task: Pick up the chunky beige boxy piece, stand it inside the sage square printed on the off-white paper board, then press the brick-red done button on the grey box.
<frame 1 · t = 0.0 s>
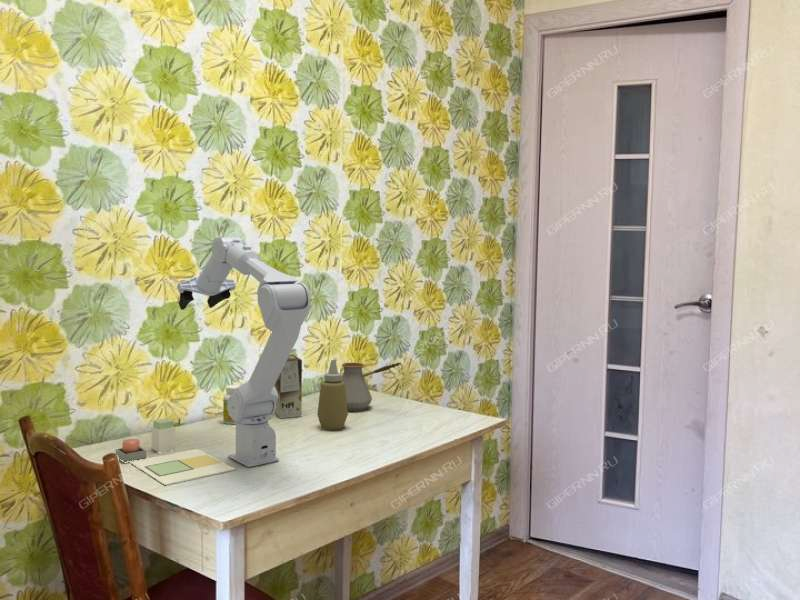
hand: (195, 305, 191), 32 cm above the table, tool tilted 50°, fingers open, 7 cm apart
paper board: (182, 466, 167), on the table
done button: (131, 446, 171), point 3 cm above the table, slide at 0.0 cm
coffee box: (286, 414, 214), on the table
supplement bottle: (233, 422, 204), on the table
coffee pot: (367, 410, 220), on the table
squeeze bottle: (332, 428, 201), on the table
beige boxy piece: (163, 449, 179), on the table
button housing: (131, 458, 172), on the table
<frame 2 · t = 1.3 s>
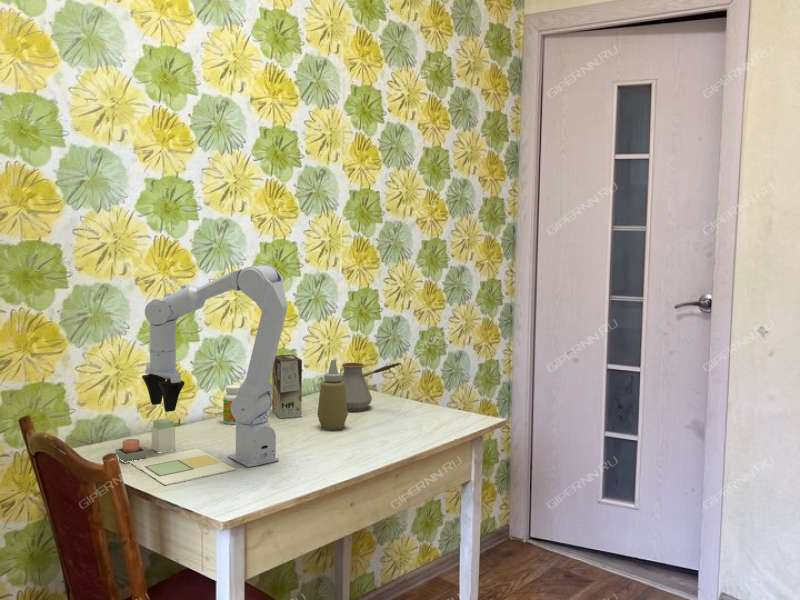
hand: (163, 407, 178), 10 cm above the table, tool pointing down, fingers open, 7 cm apart
nothing on the table moved.
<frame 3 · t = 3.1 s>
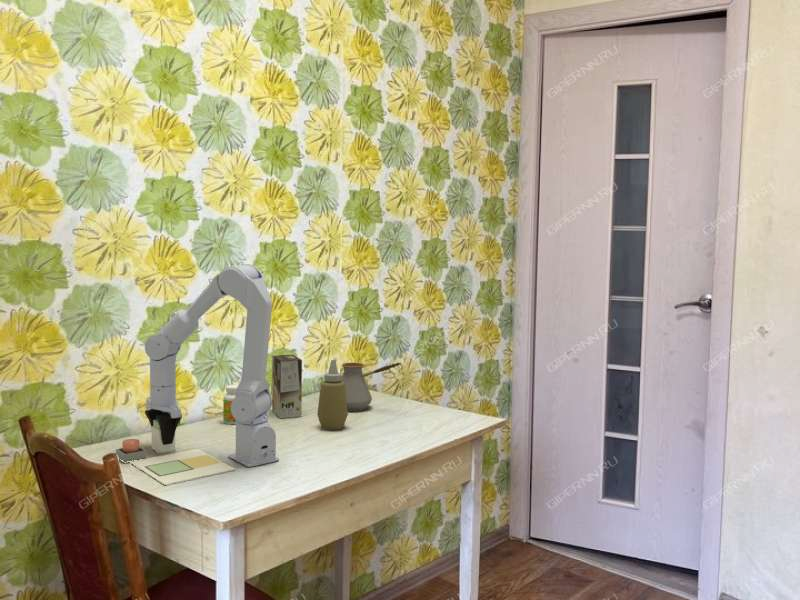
hand: (163, 441, 178), 2 cm above the table, tool pointing down, fingers closed on beige boxy piece, 4 cm apart
beige boxy piece: (163, 449, 179), on the table, touching gripper
everything else where it was.
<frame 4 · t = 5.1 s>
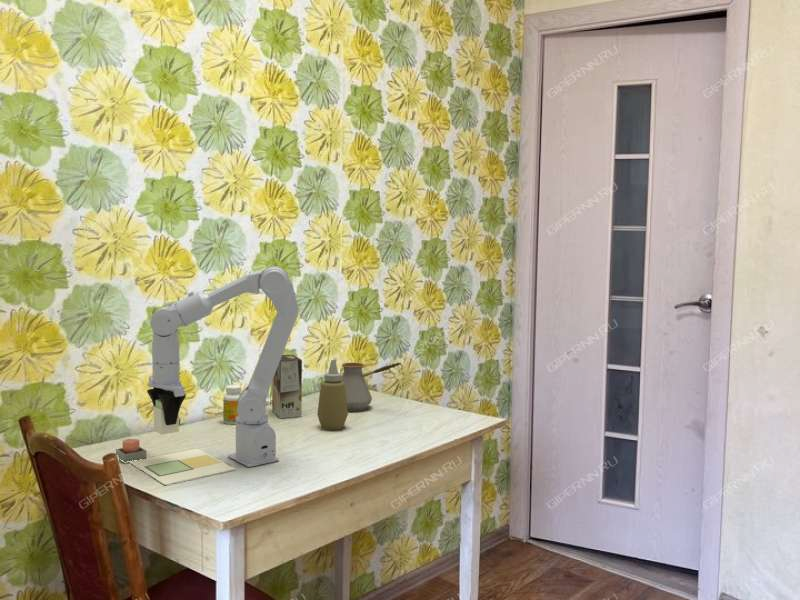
hand: (166, 422, 170), 9 cm above the table, tool pointing down, fingers closed on beige boxy piece, 4 cm apart
beige boxy piece: (166, 431, 170), point 7 cm above the table, touching gripper
everything else where it was.
when the fingers open (3 cm above the table, at t = 7.4 s): beige boxy piece stays where it is, resting on paper board.
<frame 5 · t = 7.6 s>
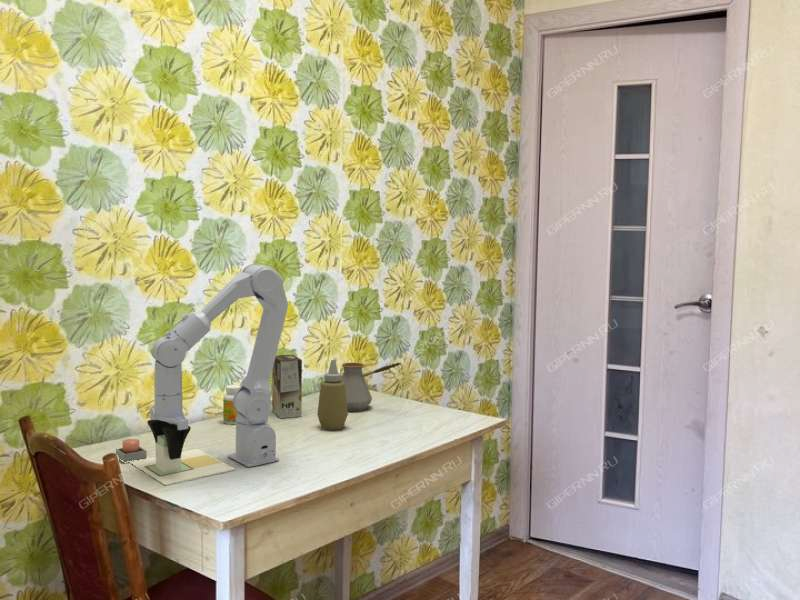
hand: (168, 455, 165), 3 cm above the table, tool pointing down, fingers open, 5 cm apart
beige boxy piece: (168, 467, 165), resting on paper board
everything else where it was.
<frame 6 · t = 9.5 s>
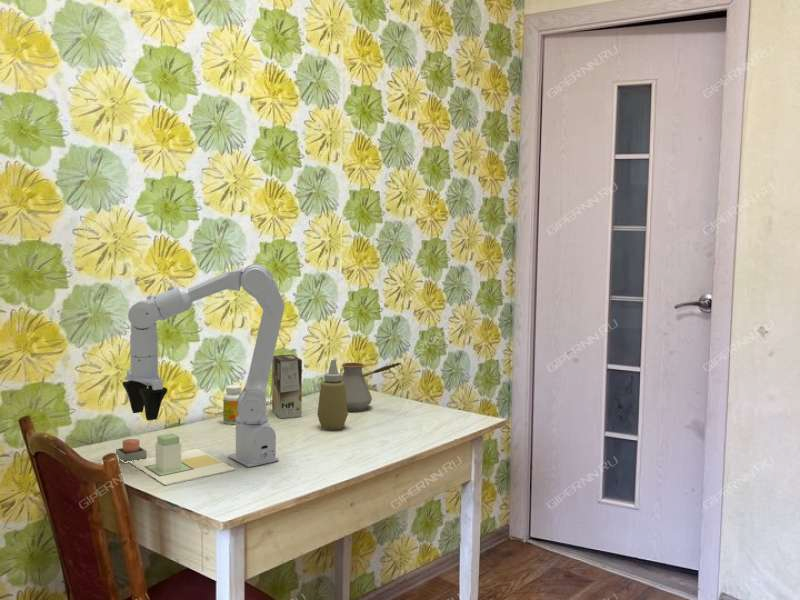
hand: (144, 416, 168), 10 cm above the table, tool pointing down, fingers open, 7 cm apart
nothing on the table moved.
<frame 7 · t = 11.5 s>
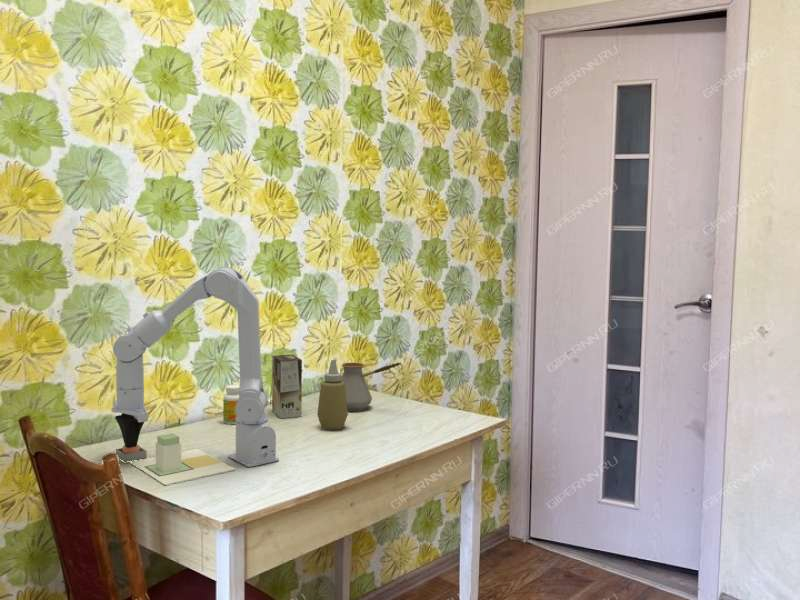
hand: (130, 446, 171), 3 cm above the table, tool pointing down, fingers closed, pressing on done button
done button: (131, 451, 171), point 2 cm above the table, slide at 1.2 cm, touching gripper
everything else where it was.
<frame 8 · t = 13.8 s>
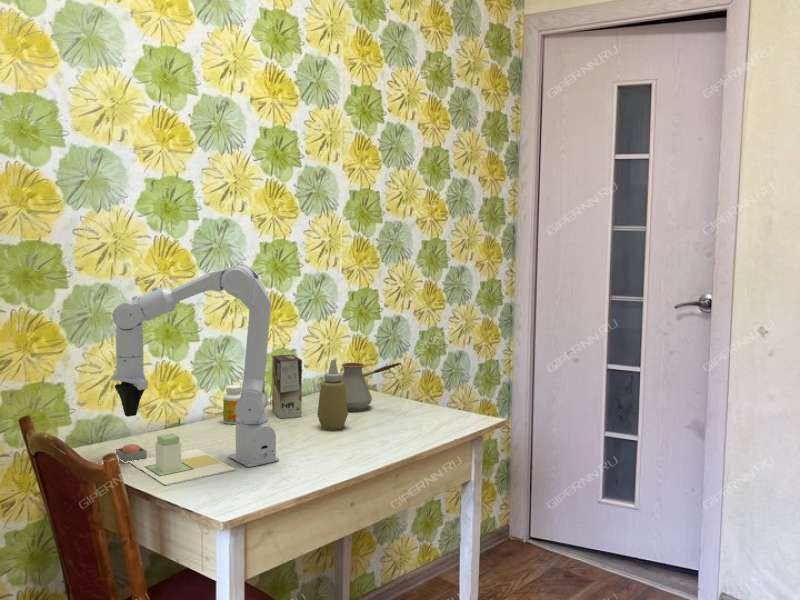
hand: (130, 415, 170), 10 cm above the table, tool pointing down, fingers closed
done button: (131, 452, 171), point 1 cm above the table, slide at 1.3 cm
everything else where it was.
at the end: beige boxy piece inside the target area on the paper board (0.1 cm from its centre), point 0.4 cm above the paper board's base; beige boxy piece tilted 0°; done button slide at 1.3 cm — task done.
